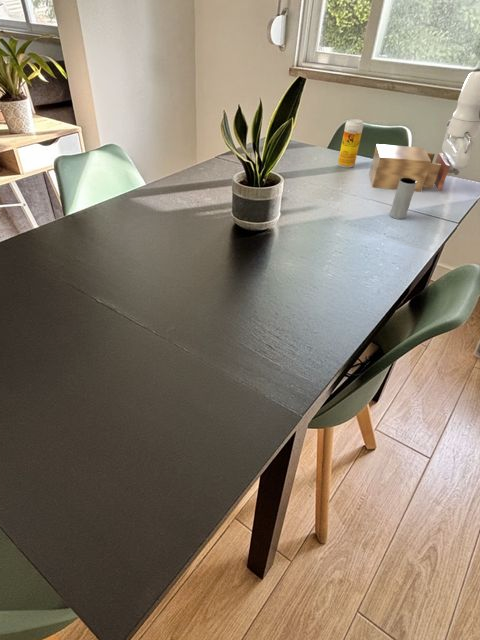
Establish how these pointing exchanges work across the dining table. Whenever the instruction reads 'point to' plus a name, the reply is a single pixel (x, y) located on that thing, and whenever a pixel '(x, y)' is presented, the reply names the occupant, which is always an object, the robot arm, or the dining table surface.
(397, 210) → the grey cylindrical tube
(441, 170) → the drawer
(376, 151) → the cabinet
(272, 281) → the dining table surface
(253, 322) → the dining table surface
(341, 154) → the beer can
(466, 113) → the robot arm
